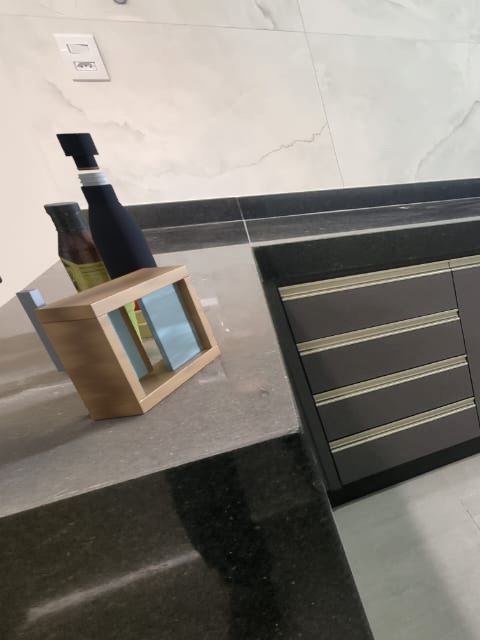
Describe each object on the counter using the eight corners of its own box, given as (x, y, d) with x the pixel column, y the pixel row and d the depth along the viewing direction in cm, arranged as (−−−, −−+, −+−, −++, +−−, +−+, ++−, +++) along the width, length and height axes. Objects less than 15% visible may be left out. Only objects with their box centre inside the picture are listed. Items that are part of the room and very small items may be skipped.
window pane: (74, 401, 59) (14, 293, 54) (118, 374, 66) (69, 275, 61) (114, 396, 60) (59, 288, 55) (154, 370, 67) (108, 271, 61)
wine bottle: (145, 323, 90) (59, 133, 78) (121, 321, 92) (33, 134, 80) (185, 311, 96) (110, 132, 83) (161, 309, 98) (85, 133, 85)
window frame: (92, 420, 59) (32, 309, 53) (181, 358, 75) (142, 268, 69) (144, 414, 60) (90, 304, 54) (221, 353, 76) (185, 264, 70)
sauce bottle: (101, 315, 96) (46, 202, 88) (144, 309, 98) (94, 199, 90) (84, 325, 91) (24, 206, 82) (130, 319, 93) (76, 203, 85)
